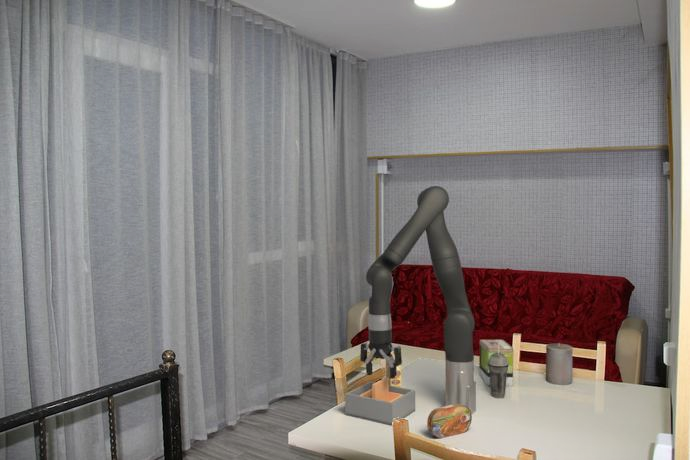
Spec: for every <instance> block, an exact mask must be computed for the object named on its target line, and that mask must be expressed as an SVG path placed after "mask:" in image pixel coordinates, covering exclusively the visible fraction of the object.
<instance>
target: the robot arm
mask: <svg viewBox="0 0 690 460" xmlns="http://www.w3.org/2000/svg"><path fill="white" fill-rule="evenodd" d="M416 202H417V208H416V210H415V212H414V213H413V214H412V216H411V217H410V219H409V220H407V222H406V223H405V224H404V226H403V227H402V228H401V229H400V230H399V231H398V232H397V233H396V234H395V236H394V237H393V238H392V239H391V241H390V242H389V243H388V246H386V248H385V249H384V252H383V253H382V254H381V255H379V257H378V258H376V260H375V261H374V262H373V263H372V264H371V265H370V267H369V268H368V270H367V271H366V275H365V279H366V282H367V283H368V285H369V286H371V296H370V297H369V299H368V320H367V321H368V324H367V325H368V342H369V343H368V342H363V343H361V344H360V355H359V357H360V359H359V360H360V362H364V363H365V372H366V374H367V376H371V375H373V363H372V362H373V360H374V359H380V360H384V361H385V363H386V362H388V363H389V365H390V366H391V367H390V378H391V379H393V378H395V376H396V375H397V372H396V367H397V366H399V365H401V366H402V363H403V360H402V348H401V346H400V345H398V346H393V345H392V342H393V338H392V337H393V335H392V334H393V332H392V329H393V327H392V317H391V315H392V314H391V296H392V291H393V290H392V289H393V276H392V272H393V271H394V269H395V268H397V267H400V266H401V265H402V264H403V263H404V261H405V259H406V258H408V256H409V254H410V253H411V251H412V250H413V248H414V247H415V246H416V244H417V242H418V241H419V240H420V238H421V236H422V235H424V233H426V239H427V245H428V250H429V256H430V260H431V265H432V268H433V269H432V270H433V273H434V276H435V277H434V278H435V279H436V281H437V283H438V286H439V288H440V290H441V292H442V295H443V298H444V302H445V306H446V307H445V308H446V316H447V317H446V318H445V320H444V323H443V349H444V350H443V351H444V355H445V359H444V360H445V362H444V363H445V369H444V370H445V372H444V373H445V381H444V382H445V389H444V390H445V393H444V394H445V401H444V402H445V406H449V405H453V404H461V405H465V406H467V407H468V408H469V409H470V411H471V415H472V414H473V413H474V412H475V411H477V396H476V395H477V382H476V381H474V380H475V378H474V377H475V374H474V373H475V370H474V369H475V368H474V367H475V365H474V362H475V361H474V358H475V353H474V348H473V346H474V345H473V338H474V337H473V332H474V330H475V327H476V326H475V325H476V323H475V317H474V315H473V312H472V309H471V307H470V304H469V301H468V297H467V293H466V287H465V280H464V274H463V269H462V263H461V259H460V255H459V252H458V249H457V246H456V244H455V242H454V240H453V238H452V236H451V234H450V232H449V230H448V228H447V227H448V226H447V225H446V220H445V214H444V213H445V212H444V211H445V210H446V209H447V207H448V205H449V202H450V196H449V192H448V191H447V190H446V189H445V188H443V187H442V186H439V185H433V186H429V187H427V188H425V189H423V190H422V191H421V192H419V194H418V196H417V201H416ZM368 350H369V351H370V352H369V354H368ZM391 352H393V353H394V355H395V360H394V357H393V355H392V354H391ZM388 356H389V357H388ZM445 406H444V407H445Z"/></svg>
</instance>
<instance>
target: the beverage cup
mask: <svg viewBox="0 0 690 460" xmlns="http://www.w3.org/2000/svg"><path fill="white" fill-rule="evenodd" d="M497 340H498V353H494V354H492V355H491V356H490V358H489V360H488V367H489V372H490V384H491V386H490V391H491V392H490V394H491V397H492V398H495V399H504V398H505V397H506V391H507V390H506V389H507V386H506V379H507V371H508V366H509V364H508V360H507V358H506V357H505V355H503V354H501V353H499V340H500V339H497Z"/></svg>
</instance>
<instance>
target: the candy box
mask: <svg viewBox="0 0 690 460" xmlns="http://www.w3.org/2000/svg"><path fill="white" fill-rule="evenodd" d="M391 354H392V355H393V357H394V360H395V355H394V353H393V351H392V352H391ZM388 357H389V356H388ZM390 367H391V366H390V365H389V363H388V362H386V361H385V378H388V382H389V385H391V386H396V387H402V364H401V365H399V366H397V367H396V372H397V375H396V376H395V378H393V379H391V378H390Z"/></svg>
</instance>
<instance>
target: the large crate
mask: <svg viewBox="0 0 690 460" xmlns="http://www.w3.org/2000/svg"><path fill="white" fill-rule="evenodd" d="M374 383H376V382H375V381H368V382H365V384H362V385H360V386H358V387H356V388H354V389H352V390H350V391H348V392H346V393H345V394H344V412H345V413H344V415H345V416H349V417H353V418H357V419H361V420H366V421H370V422H375V423H379V424H382V425H387V426H392V422H393V419H394V418H397V417H399V418H404V419H406V418H407V417H408V416H410V415H411V414H413V413H414V412H416V389H412V388H411V389H410V388H407V387H402V386H401V387H396V386H391V385H389V392H393V393H398V394H403V396H402V397H400V398H398V399H396V400H395V401H393V402H387V401H382V400H378V399H373V398H368V397H363V396H359V395H361V394H363V393H365V392H367V391H369V390H371V389H372V384H374ZM392 427H393V426H392Z"/></svg>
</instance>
